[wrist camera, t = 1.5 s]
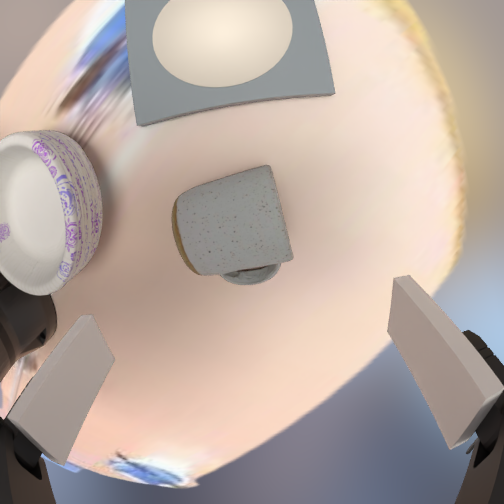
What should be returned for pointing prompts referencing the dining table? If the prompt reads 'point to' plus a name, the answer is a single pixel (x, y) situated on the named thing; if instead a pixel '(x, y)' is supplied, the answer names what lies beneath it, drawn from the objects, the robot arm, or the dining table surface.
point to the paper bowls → (46, 210)
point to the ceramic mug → (233, 227)
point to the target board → (222, 54)
